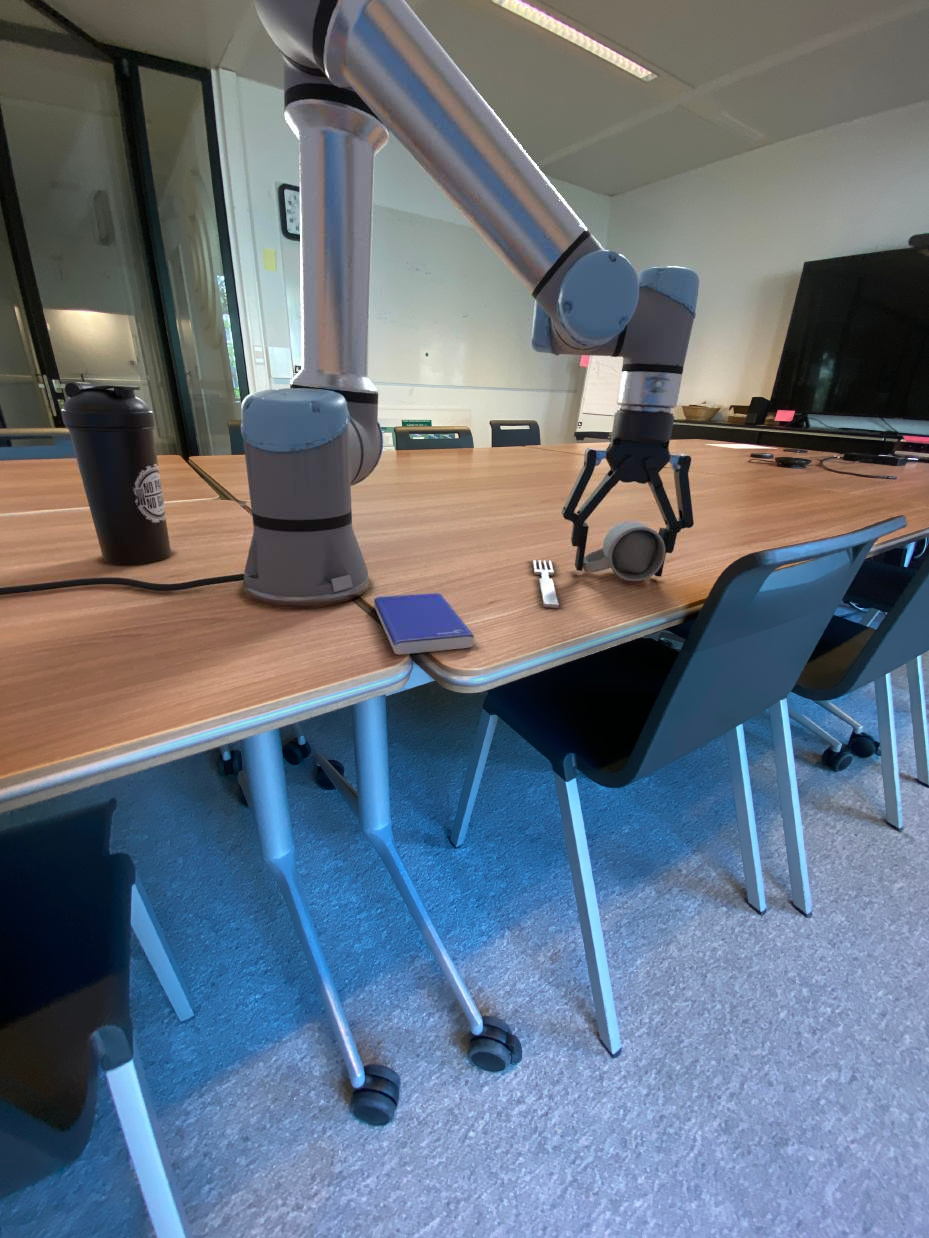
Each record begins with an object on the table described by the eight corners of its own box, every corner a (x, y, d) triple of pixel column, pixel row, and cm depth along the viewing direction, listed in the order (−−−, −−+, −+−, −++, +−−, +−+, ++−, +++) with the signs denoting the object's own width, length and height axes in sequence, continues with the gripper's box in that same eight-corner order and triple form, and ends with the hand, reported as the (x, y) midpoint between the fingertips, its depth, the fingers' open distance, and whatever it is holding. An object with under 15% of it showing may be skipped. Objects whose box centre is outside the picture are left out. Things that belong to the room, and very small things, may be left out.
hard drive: (474, 633, 54) (441, 592, 64) (394, 640, 51) (373, 596, 62) (473, 647, 54) (441, 604, 65) (394, 655, 52) (374, 609, 63)
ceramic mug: (645, 566, 82) (653, 516, 79) (661, 583, 74) (670, 529, 72) (576, 563, 82) (582, 513, 79) (585, 580, 75) (591, 526, 72)
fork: (539, 607, 66) (540, 603, 65) (532, 562, 83) (532, 559, 83) (562, 608, 65) (562, 604, 65) (550, 563, 83) (550, 560, 83)
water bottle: (154, 568, 72) (118, 384, 63) (79, 565, 72) (32, 380, 63) (190, 548, 82) (163, 386, 73) (124, 545, 82) (89, 382, 73)
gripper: (559, 404, 66) (539, 572, 75) (747, 416, 65) (705, 585, 74) (554, 403, 73) (536, 557, 82) (724, 414, 72) (688, 568, 81)
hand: (617, 570), depth 78 cm, fingers closed on ceramic mug, 11 cm apart
